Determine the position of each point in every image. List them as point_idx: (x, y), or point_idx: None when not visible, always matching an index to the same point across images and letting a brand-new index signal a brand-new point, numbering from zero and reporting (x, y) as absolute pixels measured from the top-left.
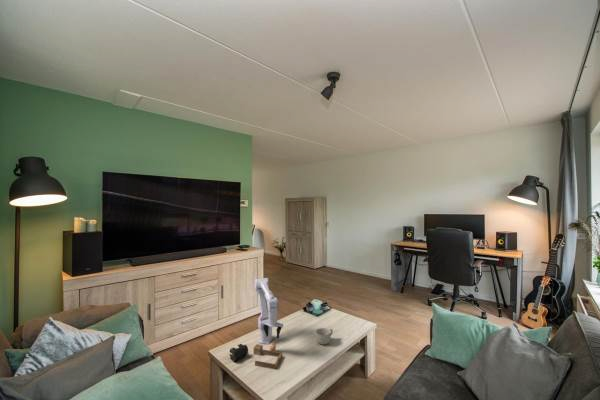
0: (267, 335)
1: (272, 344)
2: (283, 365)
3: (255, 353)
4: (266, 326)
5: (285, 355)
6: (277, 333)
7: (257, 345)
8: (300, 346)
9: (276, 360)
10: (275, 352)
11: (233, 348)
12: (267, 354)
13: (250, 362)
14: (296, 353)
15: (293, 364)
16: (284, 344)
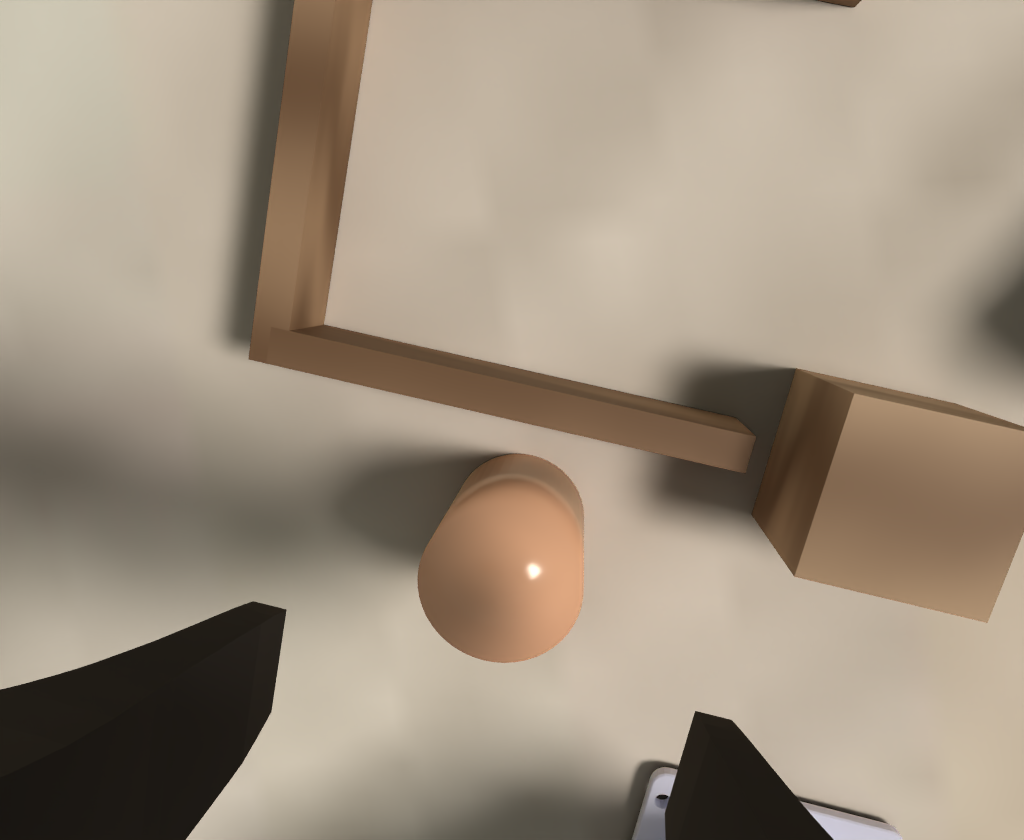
0: (694, 765)
1: (508, 571)
2: (208, 36)
3: (920, 396)
4: None
5: (232, 389)
6: (107, 691)
7: (948, 549)
8: (7, 684)
9: (330, 23)
10: (414, 358)
11: None
12: (620, 393)
13: (997, 78)
14: (33, 463)
15: (15, 91)
16: (320, 751)
